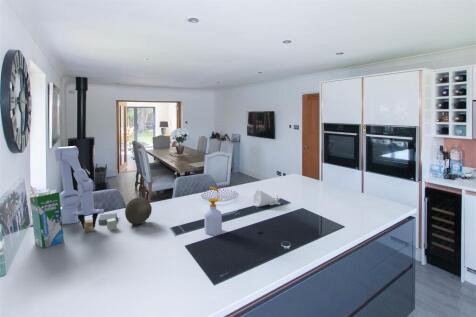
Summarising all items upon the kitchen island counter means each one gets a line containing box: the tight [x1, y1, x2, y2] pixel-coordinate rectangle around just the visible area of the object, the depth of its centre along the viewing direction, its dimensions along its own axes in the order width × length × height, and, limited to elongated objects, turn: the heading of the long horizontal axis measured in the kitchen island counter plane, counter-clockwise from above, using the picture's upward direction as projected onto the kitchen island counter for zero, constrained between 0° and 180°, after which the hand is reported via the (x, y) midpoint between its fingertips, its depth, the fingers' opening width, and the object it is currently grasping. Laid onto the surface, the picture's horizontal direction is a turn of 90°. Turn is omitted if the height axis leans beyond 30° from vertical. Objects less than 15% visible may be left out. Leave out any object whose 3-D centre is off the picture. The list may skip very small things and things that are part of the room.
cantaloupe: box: [124, 197, 153, 226], centre depth 154 cm, size 14×14×15 cm
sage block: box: [106, 218, 118, 231], centre depth 148 cm, size 4×4×5 cm
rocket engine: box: [253, 189, 281, 208], centre depth 190 cm, size 12×12×18 cm
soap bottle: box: [203, 185, 223, 236], centre depth 143 cm, size 9×9×25 cm
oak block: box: [83, 219, 95, 233], centre depth 145 cm, size 4×4×5 cm
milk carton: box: [29, 191, 65, 249], centre depth 130 cm, size 9×9×25 cm
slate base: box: [97, 212, 118, 225], centre depth 159 cm, size 9×9×2 cm
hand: (89, 227), depth 146 cm, fingers closed on oak block, 4 cm apart
